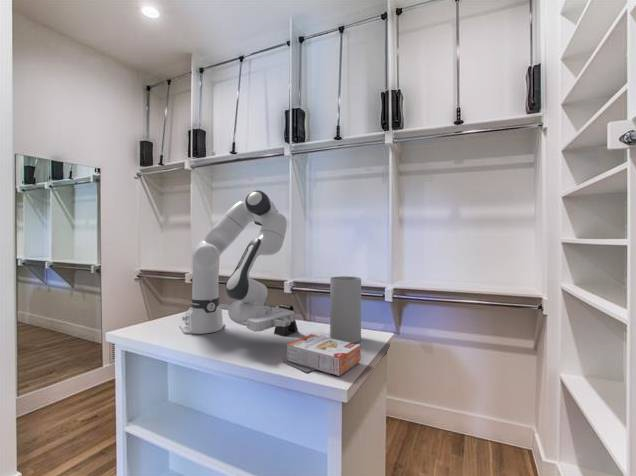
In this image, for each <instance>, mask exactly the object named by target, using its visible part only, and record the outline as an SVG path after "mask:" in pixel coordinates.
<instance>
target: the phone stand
mask: <svg viewBox="0 0 636 476" xmlns="http://www.w3.org/2000/svg"><path fill="white" fill-rule="evenodd" d="M278 307H279V308H282V309H287V310H290V311H293V312H294V306H293V305H290V304H283V303H281V304H279V306H278ZM296 321H297V320H296V319H295V320H294V321H293V322H290V325H288V326H285V327H283V326H276V327H274V331H273V334H274V335H277V336H281V337H287V336H289V335H292V334H295V333H297V332H298V333H299V330H298V326H297V322H296Z"/></svg>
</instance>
